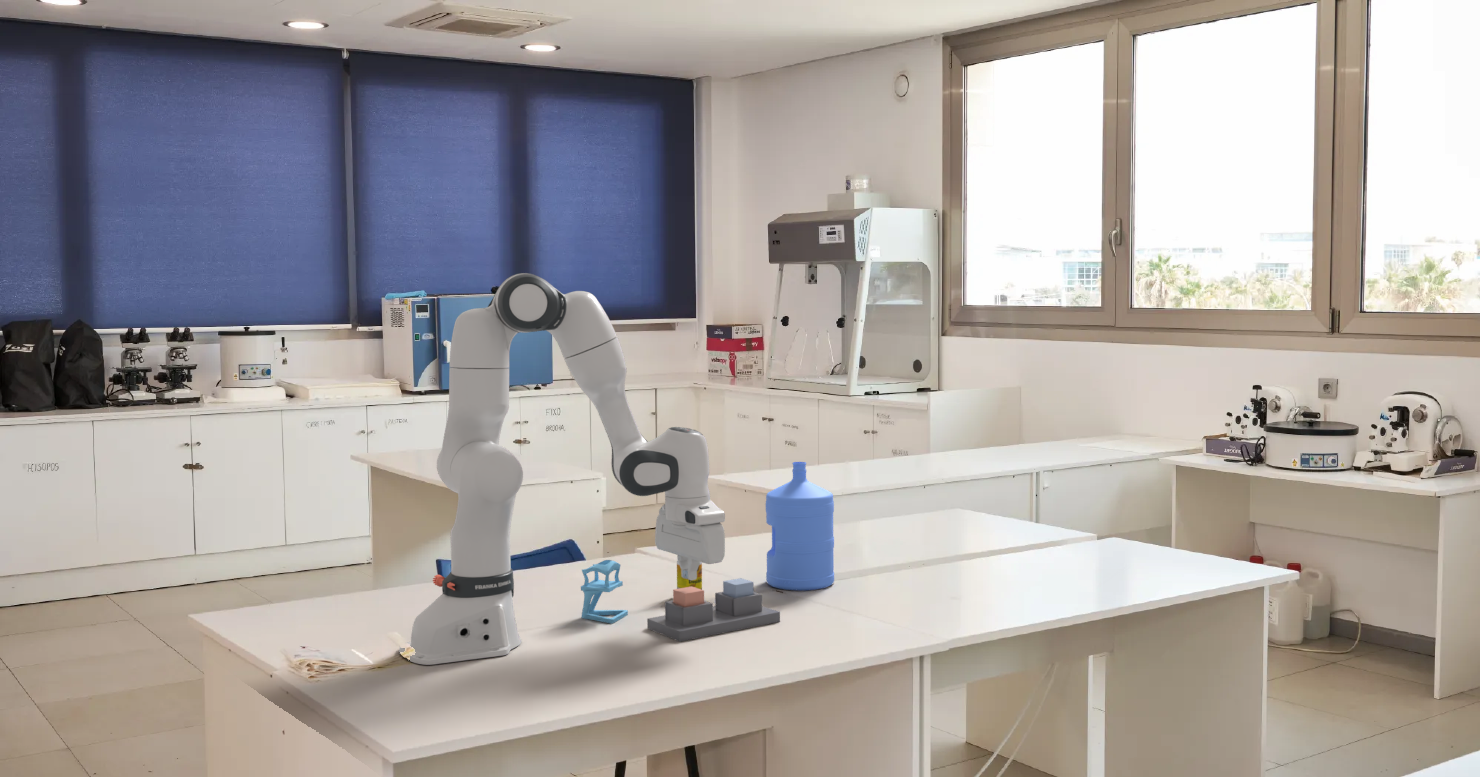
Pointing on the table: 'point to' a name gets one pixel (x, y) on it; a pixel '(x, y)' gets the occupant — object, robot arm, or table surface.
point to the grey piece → (712, 617)
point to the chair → (601, 586)
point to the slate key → (738, 588)
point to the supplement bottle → (688, 583)
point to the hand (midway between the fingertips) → (689, 578)
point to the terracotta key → (688, 596)
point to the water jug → (800, 534)
